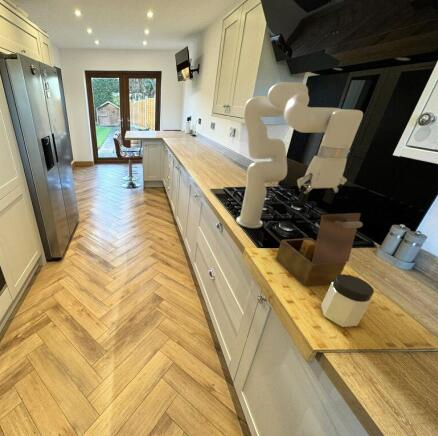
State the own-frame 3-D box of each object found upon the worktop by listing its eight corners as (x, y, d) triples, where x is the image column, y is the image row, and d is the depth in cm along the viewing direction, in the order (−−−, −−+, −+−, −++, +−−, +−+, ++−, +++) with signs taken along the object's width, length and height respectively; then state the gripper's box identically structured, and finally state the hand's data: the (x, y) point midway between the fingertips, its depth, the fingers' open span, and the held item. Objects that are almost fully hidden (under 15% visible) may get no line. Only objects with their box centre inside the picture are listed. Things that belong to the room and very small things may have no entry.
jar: (340, 303, 73) (356, 272, 67) (364, 326, 65) (384, 293, 60) (313, 305, 72) (327, 274, 67) (335, 328, 65) (352, 295, 59)
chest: (275, 258, 94) (281, 239, 90) (304, 256, 95) (311, 238, 91) (303, 285, 80) (312, 264, 76) (336, 282, 81) (346, 262, 77)
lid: (321, 214, 71) (337, 219, 66) (358, 212, 73) (376, 217, 68) (311, 263, 76) (325, 271, 71) (346, 260, 78) (361, 268, 73)
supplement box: (308, 267, 88) (317, 244, 83) (300, 267, 88) (308, 244, 83) (303, 261, 91) (311, 239, 86) (294, 262, 90) (302, 239, 86)
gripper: (346, 150, 78) (327, 197, 86) (299, 150, 76) (284, 199, 84) (368, 155, 72) (345, 206, 79) (316, 155, 70) (298, 208, 77)
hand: (314, 202), depth 82 cm, fingers open, 9 cm apart
